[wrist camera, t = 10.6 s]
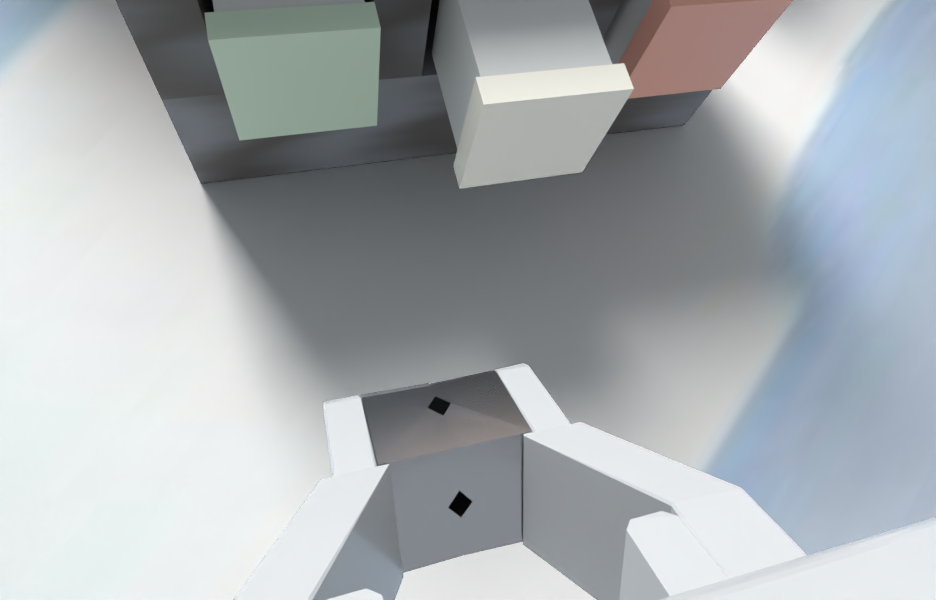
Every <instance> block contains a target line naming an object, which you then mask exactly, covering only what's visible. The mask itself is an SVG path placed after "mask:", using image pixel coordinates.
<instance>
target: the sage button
mask: <svg viewBox="0 0 936 600" xmlns="http://www.w3.org/2000/svg"><path fill="white" fill-rule="evenodd" d="M213 7H214V12H208V13H204V14H205V22H206V29H207V36H208V42H209V45H210V48H211V51H212V54H213V57H214V61H215V64H216V67H217V70H218V73H219V77H220V80H221V83H222V86H223V89H224V93H225V96H226V99H227V102H228V105H229V108H230V112H231V115H232V118H233V121H234V124H235V128H236V131H237V134H238V137H239V140H249V139H258V138H267V137H276V136H286V135H295V134H304V133H313V132H322V131H332V130H341V129H350V128H359V127H369V126H377V111H378V85H379V59H380V33H381V27H380V23H379V18H378V14H377V10H376V6H375V2H365V1H364V0H213Z"/></svg>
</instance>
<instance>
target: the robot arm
mask: <svg viewBox="0 0 936 600" xmlns="http://www.w3.org/2000/svg"><path fill="white" fill-rule="evenodd" d="M360 397H361V398H360ZM360 397H359V396H358V395H355V396H350V397H345V398H340V399H335V400H330V401H325V402H324V405H323V410H324V417H325V425H326V432H327V440H328V447H329V455H330V462H331V470H332V476H330V477H326V478H322V479H321V480H320V481H319V483H318V484H317V485H316V487H315V488H314V490H313V491H312V492H311V494H310V495H309V496H308V498H307V499H306V501H305V502H304V503H303V505H302V506H301V507H300V509H299V510H298V512H297V513H296V514H295V516H294V517H293V518H292V520H291V521H290V523H289V524H288V525H287V527H286V528H285V529H284V531H283V532H282V534H281V535H280V536H279V538H278V539H277V540H276V542H275V543H274V545H273V546H272V547H271V549H270V550H269V551H268V553H267V554H266V556H265V557H264V558H263V560H262V561H261V563H260V564H259V565H258V567H257V568H256V569H255V571H254V572H253V574H252V575H251V576H250V578H249V579H248V580H247V582H246V583H245V585H244V586H243V587H242V589H241V590H240V591H239V593H238V594H237V596H236V597H235V598H234V600H395V597H396V595H397V592H398V589H399V587H400V584H401V581H402V578H403V573H404V572H407V571H410V570H414V569H417V568H421V567H424V566H428V565H431V564H435V563H438V562H441V561H445V560H448V559H452V558H455V557H459V556H462V555H466V554H471V553H475V552H479V551H484V550H488V549H492V548H497V547H501V546H505V545H510V544H514V543H518V542H523V545H525V546H526V547H527V548H529V549H530V550H531V551H533V552H534V553H535V554H537V555H538V556H539V557H541V558H542V559H543V560H545V561H546V562H547V563H549V564H550V565H551V566H553V567H554V568H555V569H557V570H558V571H559V572H561V573H562V574H563V575H565V576H566V577H567V578H569V579H570V580H571V581H573V582H574V583H575V584H577V585H578V586H579V587H581V588H582V589H583V590H585V591H586V592H587V593H589V594H590V595H591V596H593V597H594V598H595V599H597V600H936V517H933V518H930V519H927V520H923V521H920V522H917V523H913V524H910V525H906V526H903V527H900V528H896V529H893V530H890V531H886V532H883V533H880V534H876V535H873V536H870V537H866V538H863V539H860V540H856V541H853V542H850V543H846V544H843V545H840V546H836V547H833V548H830V549H826V550H823V551H820V552H816V553H813V554H810V555H806V554H805V553H804V552H803V551H802V550H801V549H800V548H799V547H798V546H797V545H796V543H795V542H794V541H793V540H792V539H791V538H790V537H789V536H788V535H787V534H786V533H785V532H784V531H783V530H782V529H781V528H780V527H779V526H778V525H777V524H776V523H775V522H774V521H773V520H772V519H771V518H770V517H769V516H768V515H767V514H766V513H765V512H764V510H763V509H762V508H761V507H760V506H759V505H758V504H757V503H756V502H755V501H754V500H753V499H752V498H751V497H750V496H749V495H748V494H747V493H746V492H745V491H744V490H743V489H742V488H740V487H738V486H736V485H733V484H731V483H728V482H726V481H723V480H721V479H719V478H716V477H714V476H711V475H709V474H706V473H704V472H702V471H699V470H697V469H694V468H692V467H689V466H687V465H685V464H682V463H680V462H677V461H675V460H672V459H670V458H668V457H665V456H663V455H660V454H658V453H655V452H653V451H651V450H648V449H646V448H643V447H641V446H638V445H636V444H633V443H631V442H629V441H626V440H624V439H621V438H619V437H616V436H614V435H612V434H609V433H607V432H604V431H602V430H599V429H597V428H595V427H592V426H590V425H587V424H585V423H582V422H578V423H573V424H571V423H570V421H569V420H568V418H567V417H566V416H565V414H564V413H563V412H562V410H561V409H560V408H559V406H558V405H557V403H556V402H555V401H554V399H553V398H552V397H551V395H550V394H549V392H548V391H547V390H546V388H545V387H544V386H543V384H542V383H541V382H540V380H539V379H538V377H537V376H536V375H535V373H534V372H533V371H532V369H531V368H530V366H529V365H527V364H524V363H522V364H517V365H513V366H508V367H504V368H500V369H495V370H492V371H488V372H484V373H479V374H474V375H470V376H465V377H460V378H455V379H451V380H446V381H441V382H436V383H432V384H428V383H427V384H421V385H415V386H409V387H403V388H397V389H391V390H386V391H380V392H374V393H368V394H362V395H360Z"/></svg>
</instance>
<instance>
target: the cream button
mask: <svg viewBox="0 0 936 600" xmlns="http://www.w3.org/2000/svg"><path fill="white" fill-rule="evenodd" d="M432 57H433V61H434V64H435V68H436V72H437V75H438V79H439V83H440V87H441V90H442V94H443V98H444V101H445V105H446V109H447V113H448V116H449V120H450V124H451V127H452V131H453V135H454V139H455V142H456V146H457V153H456V157H455V161H454V165H453V167H454V170H455V174H456V178H457V182H458V185H459V189H462V188H469V187H476V186H484V185H491V184H498V183H506V182H513V181H521V180H528V179H535V178H543V177H550V176H557V175H565V174H572V173H580V172H583V170H584V169H585V167H586V165H587V164H588V162H589V161H590V159H591V157H592V156H593V154H594V152H595V151H596V149H597V148H598V146H599V144H600V143H601V141H602V140H603V138H604V136H605V135H606V133H607V132H608V130H609V128H610V127H611V125H612V123H613V122H614V120H615V119H616V117H617V115H618V114H619V112H620V111H621V109H622V107H623V106H624V104H625V102H626V101H627V99H628V98H629V96H630V94H631V93H632V91H633V90H634V88H633V85H632V82H631V80H630V77H629V74H628V72H627V69H626V66H625V64H624V63H621V64H612V62H611V59H610V56H609V54H608V51H607V48H606V46H605V43H604V40H603V38H602V35H601V32H600V30H599V27H598V24H597V22H596V19H595V16H594V13H593V11H592V8H591V5H590V3H589V0H440V1H439V7H438V14H437V21H436V28H435V34H434V41H433V48H432Z"/></svg>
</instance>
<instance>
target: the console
mask: <svg viewBox="0 0 936 600" xmlns="http://www.w3.org/2000/svg"><path fill="white" fill-rule="evenodd" d="M364 1H365V2H375V6H376V10H377V14H378V18H379V23H380V27H381V33H380V59H379V85H378V111H377V126H369V127H359V128H350V129H341V130H332V131H322V132H313V133H304V134H295V135H286V136H276V137H267V138H258V139H249V140H239V137H238V134H237V131H236V128H235V124H234V121H233V118H232V115H231V112H230V108H229V105H228V102H227V99H226V96H225V93H224V89H223V86H222V83H221V80H220V77H219V73H218V70H217V67H216V64H215V61H214V57H213V54H212V51H211V48H210V45H209V42H208V36H207V29H206V22H205V14H204V13H208V12H214V7H213V0H116V2H117V4H118V6H119V9H120V11H121V13H122V15H123V17H124V19H125V21H126V24H127V26H128V28H129V30H130V32H131V34H132V36H133V39H134V41H135V43H136V45H137V47H138V49H139V52H140V54H141V56H142V58H143V60H144V62H145V64H146V67H147V69H148V71H149V73H150V75H151V77H152V79H153V82H154V84H155V86H156V88H157V90H158V92H159V95H160V97H161V99H162V101H163V103H164V105H165V107H166V110H167V112H168V114H169V116H170V118H171V120H172V122H173V125H174V127H175V129H176V131H177V133H178V135H179V138H180V140H181V142H182V144H183V146H184V148H185V150H186V153H187V155H188V157H189V159H190V161H191V163H192V165H193V168H194V170H195V172H196V174H197V176H198V178H199V181H200V183H201V184H202V183H210V182H219V181H227V180H235V179H243V178H251V177H260V176H268V175H276V174H284V173H292V172H301V171H309V170H317V169H325V168H333V167H342V166H350V165H358V164H366V163H375V162H383V161H391V160H399V159H407V158H416V157H424V156H432V155H440V154H448V153H457V146H456V142H455V139H454V135H453V131H452V127H451V124H450V120H449V116H448V113H447V109H446V105H445V101H444V98H443V94H442V90H441V87H440V83H439V79H438V75H437V72H436V68H435V64H434V61H433V57H432V48H433V41H434V34H435V28H436V21H437V14H438V7H439V1H440V0H364ZM621 1H622V0H589V3H590V5H591V8H592V11H593V13H594V16H595V19H596V22H597V24H598V27H599V30H600V32H601V35H602V38H604V36H605V34H606V32H607V30H608V28H609V26H610V23H611V21H612V19H613V17H614V15H615V13H616V11H617V9H618V7H619V5H620V3H621ZM711 91H712V90H704V91H695V92H686V93H676V94H667V95H658V96H649V97H639V98H630V99H627V101H626V102H625V104H624V106H623V107H622V109H621V111H620V112H619V114H618V115H617V117H616V119H615V120H614V122H613V123H612V125H611V127H610V128H609V130H608V132H607V133H606V134H613V133H621V132H629V131H637V130H646V129H654V128H662V127H670V126H678V125H685V123H686V122H687V121H688V120H689V118H690V117H691V116H692V115H693V113H694V112H695V111H696V110H697V108H698V107H699V106H700V105H701V103H702V102H703V101H704V100H705V98H706V97H707V96H708V95H709V93H710V92H711Z"/></svg>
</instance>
